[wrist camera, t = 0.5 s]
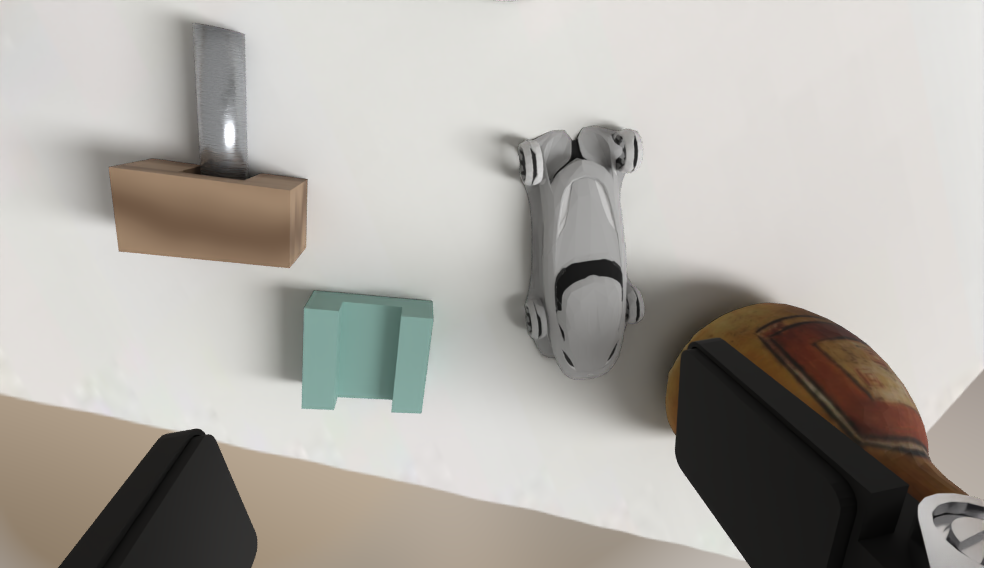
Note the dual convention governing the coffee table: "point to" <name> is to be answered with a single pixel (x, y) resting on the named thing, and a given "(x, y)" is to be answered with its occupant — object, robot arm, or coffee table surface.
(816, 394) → the ceramic pitcher
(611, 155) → the car model
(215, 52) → the axle
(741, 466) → the robot arm
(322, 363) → the v block
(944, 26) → the coffee table surface
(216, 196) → the wooden bridge block
